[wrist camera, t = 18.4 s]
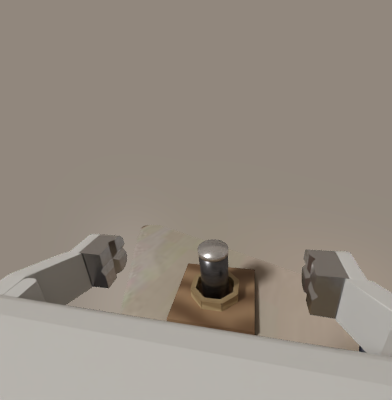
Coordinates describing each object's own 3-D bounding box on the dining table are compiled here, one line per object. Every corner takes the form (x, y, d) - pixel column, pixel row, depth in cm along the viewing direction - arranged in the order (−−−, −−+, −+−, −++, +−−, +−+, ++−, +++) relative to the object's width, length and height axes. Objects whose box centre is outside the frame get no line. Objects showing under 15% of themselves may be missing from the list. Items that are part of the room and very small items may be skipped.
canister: (217, 277, 52) (215, 236, 48) (235, 292, 48) (234, 248, 43) (196, 289, 49) (191, 247, 45) (213, 307, 45) (210, 262, 40)
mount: (188, 267, 58) (187, 256, 57) (254, 273, 54) (254, 262, 53) (167, 322, 44) (165, 310, 43) (254, 336, 40) (255, 323, 39)
